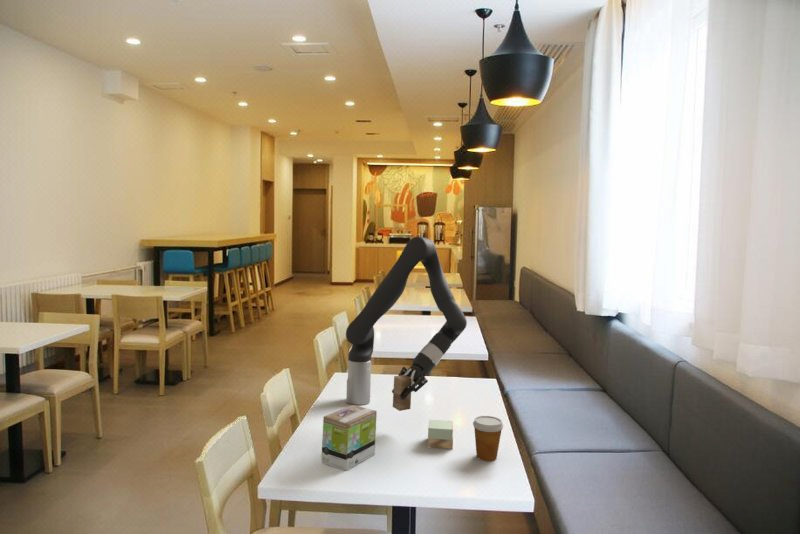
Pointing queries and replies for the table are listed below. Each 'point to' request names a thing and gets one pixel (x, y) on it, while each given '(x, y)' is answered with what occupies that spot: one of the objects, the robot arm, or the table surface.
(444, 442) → the oak slab
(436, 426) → the sage slab
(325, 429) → the tea box
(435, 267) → the robot arm
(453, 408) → the table surface
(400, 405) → the walnut pillar
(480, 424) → the disposable coffee cup
